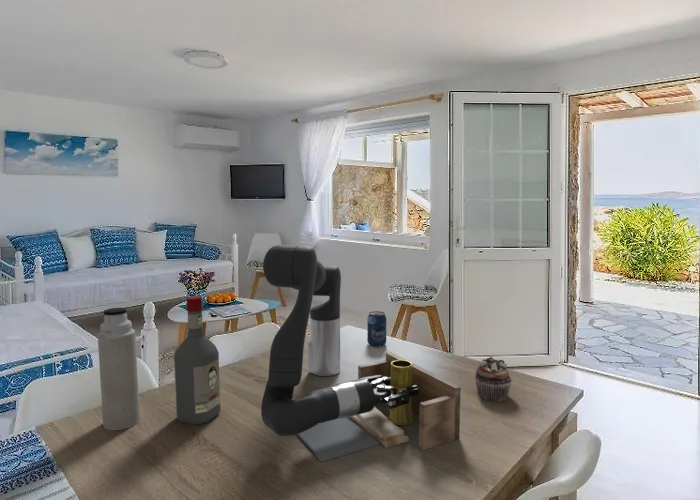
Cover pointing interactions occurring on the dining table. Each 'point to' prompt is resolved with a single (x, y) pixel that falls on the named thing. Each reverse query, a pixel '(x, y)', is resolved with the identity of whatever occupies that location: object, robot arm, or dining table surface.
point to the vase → (400, 379)
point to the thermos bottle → (118, 371)
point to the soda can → (376, 329)
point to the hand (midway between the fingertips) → (408, 384)
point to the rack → (416, 408)
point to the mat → (337, 438)
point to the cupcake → (493, 380)
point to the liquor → (196, 371)
